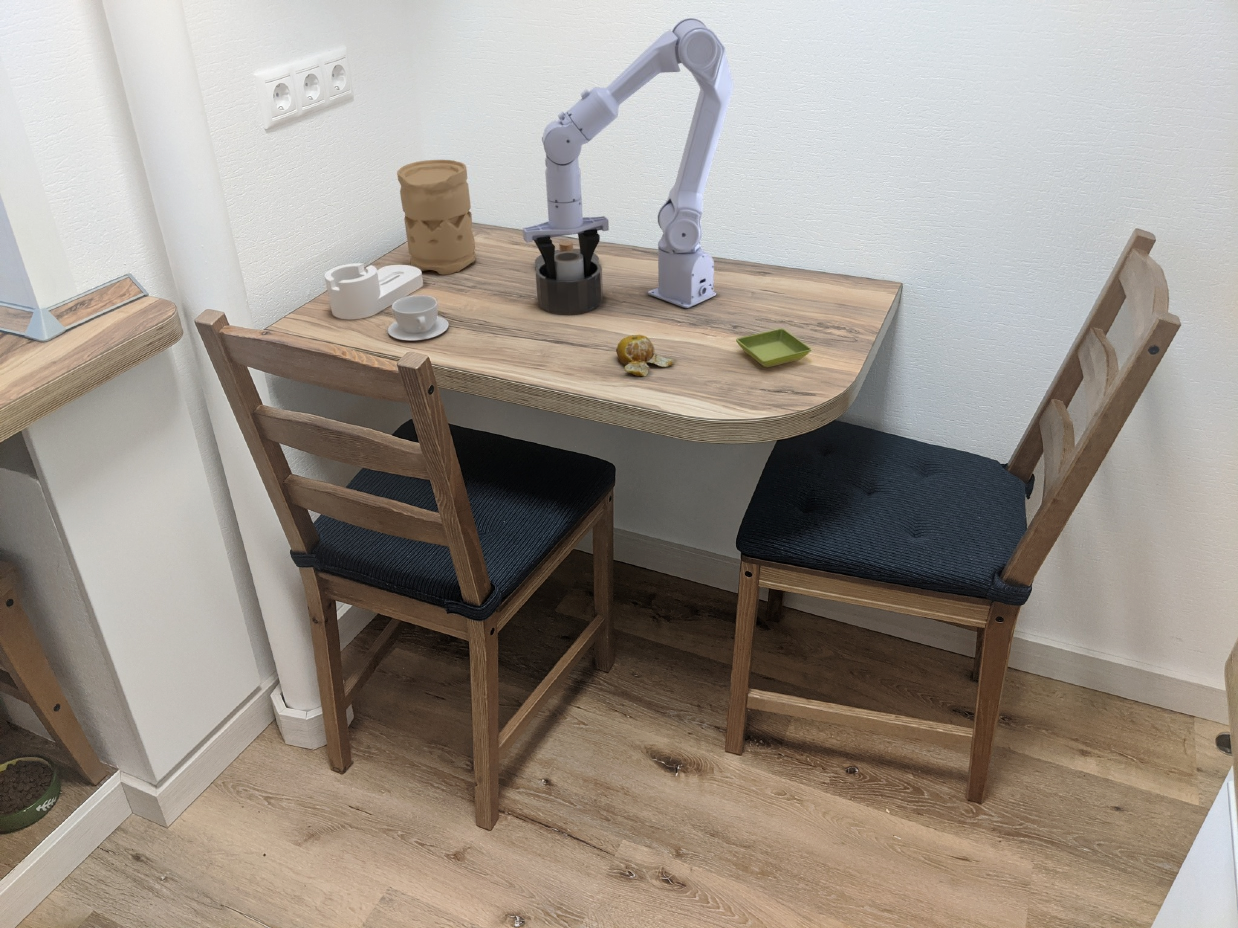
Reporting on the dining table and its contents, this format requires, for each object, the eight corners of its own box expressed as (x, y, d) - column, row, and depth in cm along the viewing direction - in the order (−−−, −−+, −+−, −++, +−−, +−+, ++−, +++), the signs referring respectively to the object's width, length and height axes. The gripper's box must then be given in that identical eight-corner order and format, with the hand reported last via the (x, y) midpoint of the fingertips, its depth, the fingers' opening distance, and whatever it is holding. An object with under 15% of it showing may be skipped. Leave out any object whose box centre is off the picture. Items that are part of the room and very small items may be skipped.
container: (471, 274, 179) (460, 178, 170) (405, 275, 180) (390, 180, 170) (480, 250, 190) (470, 158, 180) (417, 251, 190) (404, 160, 180)
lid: (612, 264, 182) (611, 241, 179) (564, 283, 175) (563, 259, 172) (569, 249, 189) (568, 227, 187) (522, 266, 182) (520, 243, 180)
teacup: (382, 324, 162) (378, 298, 159) (440, 313, 165) (436, 287, 162) (395, 347, 154) (391, 321, 151) (455, 335, 157) (452, 309, 154)
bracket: (360, 323, 162) (353, 286, 159) (321, 314, 166) (313, 278, 162) (431, 281, 177) (426, 246, 173) (393, 274, 180) (388, 240, 177)
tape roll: (590, 283, 166) (589, 256, 163) (567, 292, 163) (566, 264, 160) (570, 275, 169) (568, 248, 166) (546, 283, 166) (545, 257, 163)
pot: (616, 300, 168) (615, 268, 164) (567, 320, 161) (565, 287, 158) (572, 283, 174) (570, 252, 171) (524, 302, 168) (521, 270, 165)
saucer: (762, 373, 143) (763, 361, 142) (733, 350, 150) (734, 338, 149) (812, 361, 146) (813, 349, 145) (781, 339, 153) (782, 327, 152)
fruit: (633, 379, 143) (633, 357, 141) (602, 359, 148) (601, 338, 146) (677, 364, 146) (677, 342, 144) (645, 345, 152) (645, 324, 150)
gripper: (597, 185, 163) (600, 261, 170) (515, 196, 159) (521, 274, 166) (612, 197, 157) (614, 275, 165) (527, 209, 153) (533, 288, 161)
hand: (568, 275), depth 165 cm, fingers closed on tape roll, 5 cm apart
